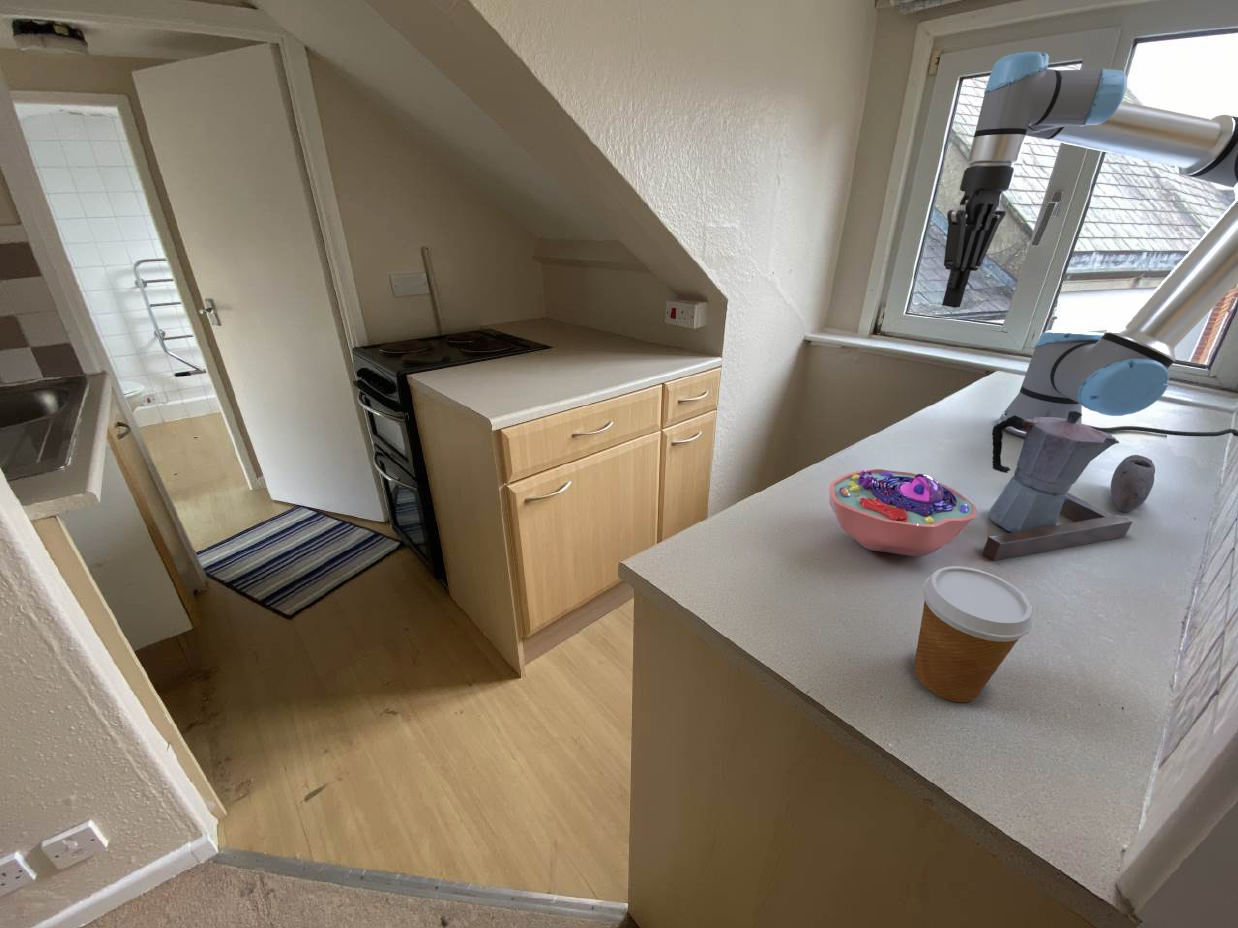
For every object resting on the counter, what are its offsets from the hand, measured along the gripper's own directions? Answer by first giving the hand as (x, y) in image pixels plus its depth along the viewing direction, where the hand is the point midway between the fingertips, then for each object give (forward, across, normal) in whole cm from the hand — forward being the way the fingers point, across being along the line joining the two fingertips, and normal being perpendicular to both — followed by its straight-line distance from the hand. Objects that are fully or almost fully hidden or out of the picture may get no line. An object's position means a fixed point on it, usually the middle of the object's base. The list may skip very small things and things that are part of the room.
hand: (950, 306), depth 102 cm
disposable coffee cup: (+30, +52, +46) cm, 75 cm away
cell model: (+30, +36, +24) cm, 52 cm away
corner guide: (+29, +11, +28) cm, 42 cm away
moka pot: (+30, +12, +30) cm, 43 cm away
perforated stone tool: (+30, -13, +32) cm, 46 cm away
